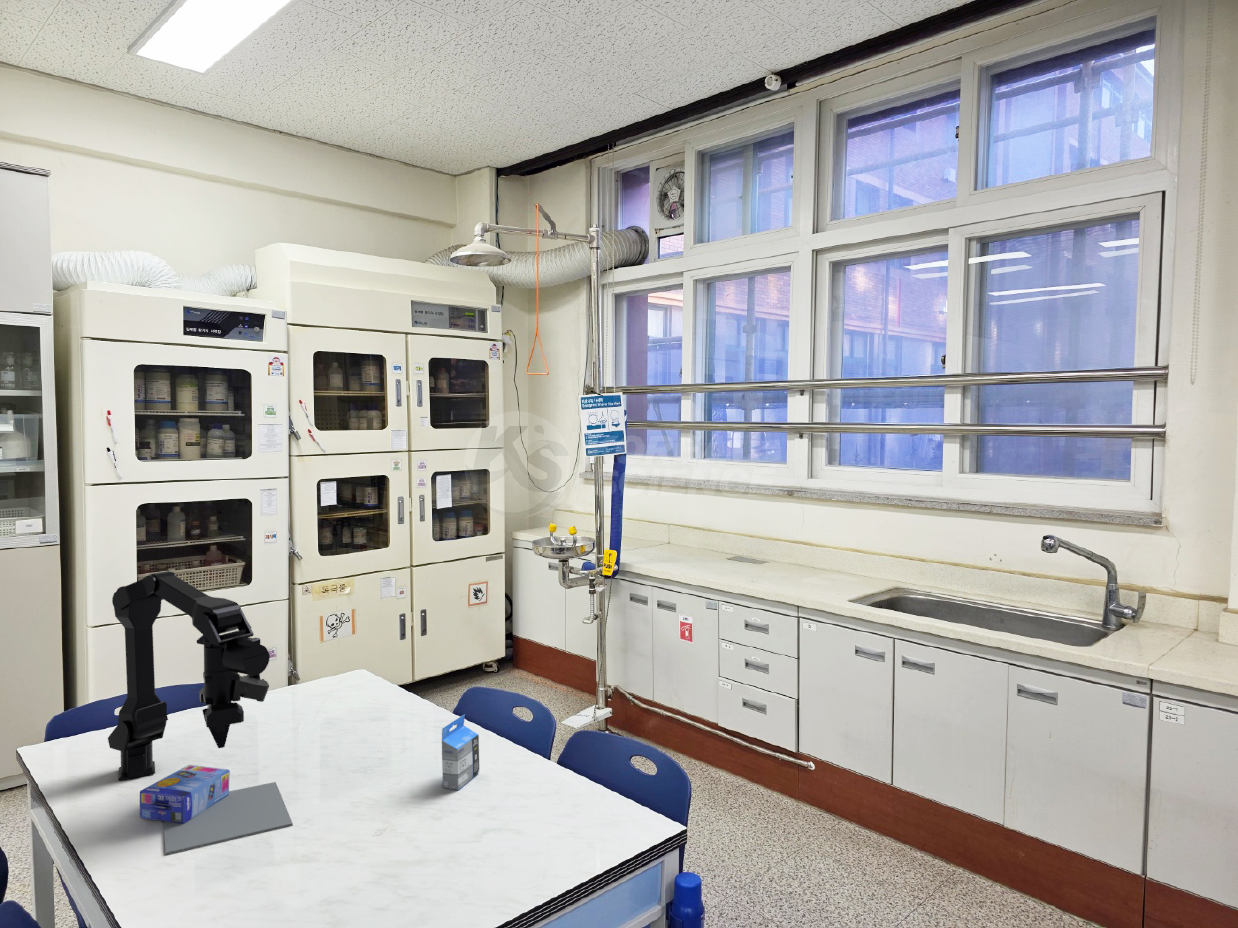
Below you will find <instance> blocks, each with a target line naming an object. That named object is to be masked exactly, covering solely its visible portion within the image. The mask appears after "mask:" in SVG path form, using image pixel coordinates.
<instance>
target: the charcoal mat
mask: <svg viewBox="0 0 1238 928" xmlns="http://www.w3.org/2000/svg"><path fill="white" fill-rule="evenodd" d="M287 808H288V807H286V804H285V801H284V798H283V797H282V795H281V791H280V789H279V787H278V785H277V782H276V781H273V782H267V783H263V784H258V785H254V786H250V787H249V786H248V787H244V788H239V789H234V790H229V795H228V796H226V797H225V798H223V799H222V800H220V801H218V802H217V803H215V804H214V805H212V806H211V807H209V808H208V809H206V810H205V811H203V812H201V813H200V814H198V815H197V816H195V817H194V818H192V819H190V820H189V821H187V822H186V823H184V824H183V823H175V822H168V821H163V822H162V823H163V825H162V826H163V834H164V835H163V836H164V848H165V855H166V856H167V855H172V854H177V853H181V852H185V851H188V850H193V849H197V848H202V847H206V846H211V845H214V844H219V843H223V842H227V841H231V840H236V839H240V838H245V837H248V836H253V835H257V834H261V833H265V832H270V831H274V830H275V831H276V830H278V829H283V828H287V827H292V826H293V821H292V819H291V817H290V814H289V811H288V809H287Z"/></svg>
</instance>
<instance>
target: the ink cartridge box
mask: <svg viewBox="0 0 1238 928" xmlns="http://www.w3.org/2000/svg"><path fill="white" fill-rule="evenodd" d="M230 772H231V771H230V769H226V768H218V767H211V766H203V765H196V764H195V765H193V764H188V765H186V766H184V767H182V768H180V769H179V770H177V771H175V772H173V773H171V774H170V775H167V776H165V777H163V778H162V779H160V780H158V781H156V782H154V783H152V784H150V785H149V786H147V787H145V788H143V789H142V790H140V791H139V818H140V819H144V820H151V821H168V822H175V823H183V824H184V823H186V822H187V821H189V820H190V819H192V818H194V817H195V816H197V815H198V814H200V813H201V812H203V811H205V810H206V809H208V808H209V807H211V806H212V805H214V804H215V803H217V802H218V801H220V800H222V799H223V798H225V797H226V796H228V795H229V791H230Z"/></svg>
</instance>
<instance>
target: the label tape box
mask: <svg viewBox="0 0 1238 928" xmlns="http://www.w3.org/2000/svg"><path fill="white" fill-rule="evenodd" d="M465 716H466V713H465V714H463V715H461V716H459V717H457V718H456V719H454V720H453V721H451V722H449V723H448V724H447V725H445V726H443V727H442V729H441V763H442V765H441V767H442V788H445V789H448V788H451V789H450V790H454V789H455V791H456V790H457V791H459V790H461V789H462V788H463V787H464V786H465V785H466V784H467V783H469V782H470V781H471V780H472V779H474V778H475V777H476V776H477V775H478V774H479V773H480V744H479V743H480V736H479V734H478V733H477V732H475V731H473V730H472V729H470V728H469V727H467V726H465ZM453 726H454V728H453ZM455 726H456V727H455ZM452 728H453V729H452ZM451 729H452V730H451Z"/></svg>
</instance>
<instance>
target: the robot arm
mask: <svg viewBox="0 0 1238 928" xmlns="http://www.w3.org/2000/svg"><path fill="white" fill-rule="evenodd" d="M163 600H164V601H165V602H166V603H169V604H170V605H172V606H173V607H175V608H176V609H178V610H180V611H182V613H185V614H186V615H188V616H189V617H190V618H191V620H192V622H191V623H192V626H193V627H194V628H196V630H197V631H198V632H199V633H201V634H202V635H201V636H200V637H198V639H197V640H196V643H197V644H198V645H203V673H202V677H203V687H201V689H200V690H199V702H200V704H204V705H205V706H207V708H203V709H202V710H201V711H202V715H203V718H204V721H205V726H206V728H208V729H209V732H210V734H211V736H212V738H213V740H214V742H215V744H216V746H217V748H218V749H223V748H225V746H226V743H227V738H228V735H229V734H228V733H229V731H230V727H231V725H235V724H240V723H243V722H244V721H245V715H244V714H245V712H244V709H243V706H242V705H241V704H239V702H240V701H241V698H244V699H248V700H249V699H250V700H253V701H254V700H255V701H256V702H259V703H262V702H265V698H266V697H267V693H268V691H269V688H270V685H269V683H268V681H267V680H265V679H264V678H262V679H261V675H260V674H262V673H263V672H264V671H265V670H266V669H267V667H268V666H269V662H270V657H271V656H270V655H271V654H270V653H269V651H268V649H267V647H266V646H265V645H262V644H261V638H260V637H254V636H255V635H254V631H253V630H252V626H251V624H250V622H249V621H248V619H247V618H246V616H245V614H244V612H243V609H242V607H241V605H240V604H238V602H236V601H233V600H231V599H227V598H225V597H217V596H216V597H215V596H213V597H212V596H210V595H208V594H206V593H205V592H203V591H201V590H199V589H198V588H196V587H194V586H193V585H191V584H190V583H188V582H187V581H185V580H183V579H181V578H180V577H178V576H177V574H176V573H175V572H174V571H171V570H170V571H167V570H166V571H160V572H155V573H150V574H148V575H146V576H144V577H143V578H141V579H140V580H137V581H135V582H132V583H130V584H128V585H124V586H119V587H118V588H117V590H116V591H115V592H114V593H113V596H112V600H111V601H112V605H113V609H114V617H115V618H116V619H117V620H118V621H119V623H120V625H122V627H123V629H124V644H125V666H126V667H125V669H126V672H125V673H126V692H127V693H126V694H127V696H126V699H125V700H124V702H123V704H122V706H121V708H120V710H119V711H118V718H117V719H118V721H117V725H116V727H115V728H114V729H113V730H112V732H111V733H110V735H108V737H107V742H108V745H109V748H110V749H112V750H116V751H119V752H120V767H118V775H117V776H118V777H117V778H118V779H117V780H118V781H122V780H128V779H129V780H130V779H133V778H139V777H144V776H150V775H154V774H156V765H155V760H153V757H154V756H153V742H155V741H156V740H157V741H158V740H161V739H163V737H164V733H165V729H166V727H167V721H168V720H169V718H168V713H167V712H168V711H167V709H168V704H167V702H166V701H162V700H161V699H160V698H159V697H158V695H157V694H156V683H155V682H156V681H155V656H154V655H155V654H154V629H153V628H154V627H153V625H154V623H155V622H156V621H157V618H158V617H159V615H160V613H161V612H162V610H161V609H162V601H163ZM240 674H244V675H243V676H241V675H240Z"/></svg>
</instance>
